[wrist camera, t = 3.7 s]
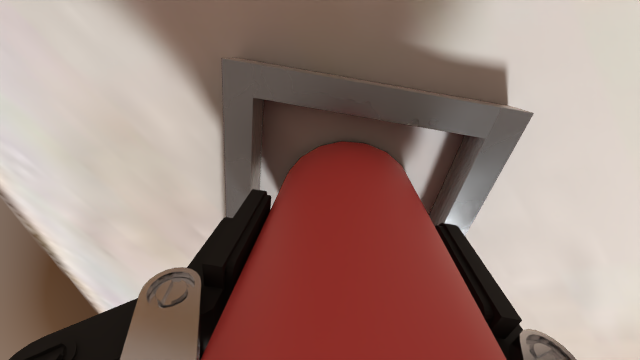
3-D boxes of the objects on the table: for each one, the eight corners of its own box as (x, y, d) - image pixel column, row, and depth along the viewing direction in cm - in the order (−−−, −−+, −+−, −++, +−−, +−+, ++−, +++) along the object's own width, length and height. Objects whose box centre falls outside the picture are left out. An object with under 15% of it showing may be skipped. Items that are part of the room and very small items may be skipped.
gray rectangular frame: (508, 105, 10) (534, 112, 9) (372, 375, 21) (374, 397, 19) (237, 57, 10) (221, 58, 9) (238, 351, 21) (230, 372, 19)
